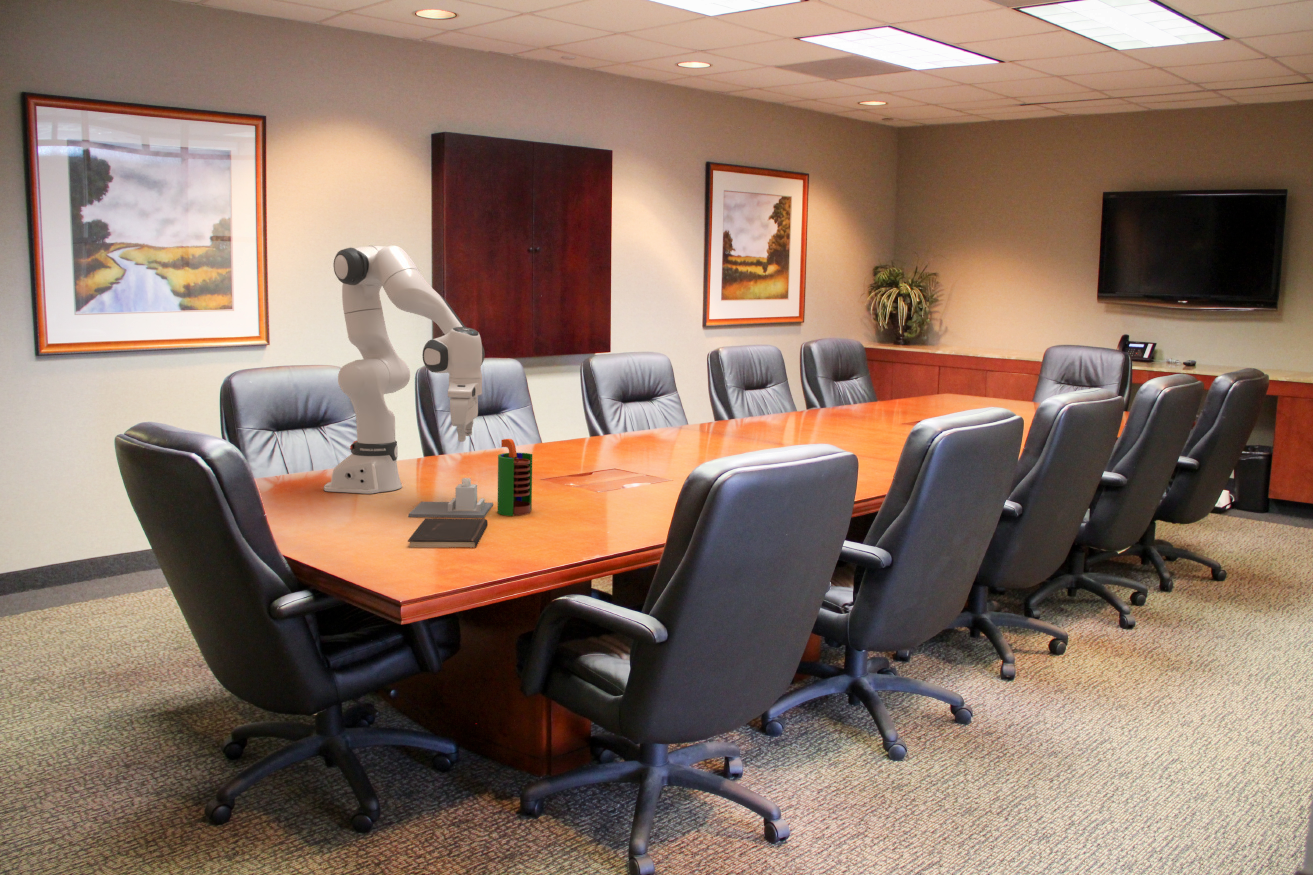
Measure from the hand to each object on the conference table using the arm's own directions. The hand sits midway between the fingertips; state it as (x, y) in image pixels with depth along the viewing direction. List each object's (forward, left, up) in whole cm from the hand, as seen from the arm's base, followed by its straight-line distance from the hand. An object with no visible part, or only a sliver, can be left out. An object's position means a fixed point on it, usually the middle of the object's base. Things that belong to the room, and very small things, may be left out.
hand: (465, 438), depth 289 cm
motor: (+14, -3, -20) cm, 24 cm away
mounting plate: (-3, -3, -20) cm, 20 cm away
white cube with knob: (+1, -3, -19) cm, 19 cm away
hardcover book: (+1, -31, -21) cm, 37 cm away
